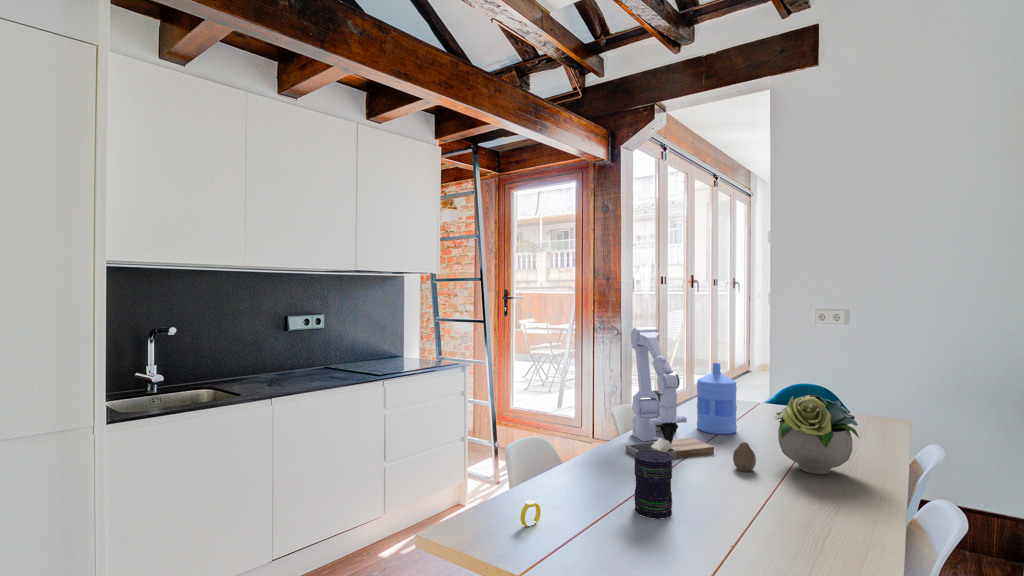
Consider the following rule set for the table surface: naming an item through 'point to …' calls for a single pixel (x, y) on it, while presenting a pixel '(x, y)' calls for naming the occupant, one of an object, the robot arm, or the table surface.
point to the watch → (527, 504)
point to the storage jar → (653, 484)
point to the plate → (690, 447)
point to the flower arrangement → (816, 433)
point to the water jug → (716, 403)
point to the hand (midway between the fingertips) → (668, 443)
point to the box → (644, 446)
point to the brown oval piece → (744, 457)
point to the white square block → (661, 445)
